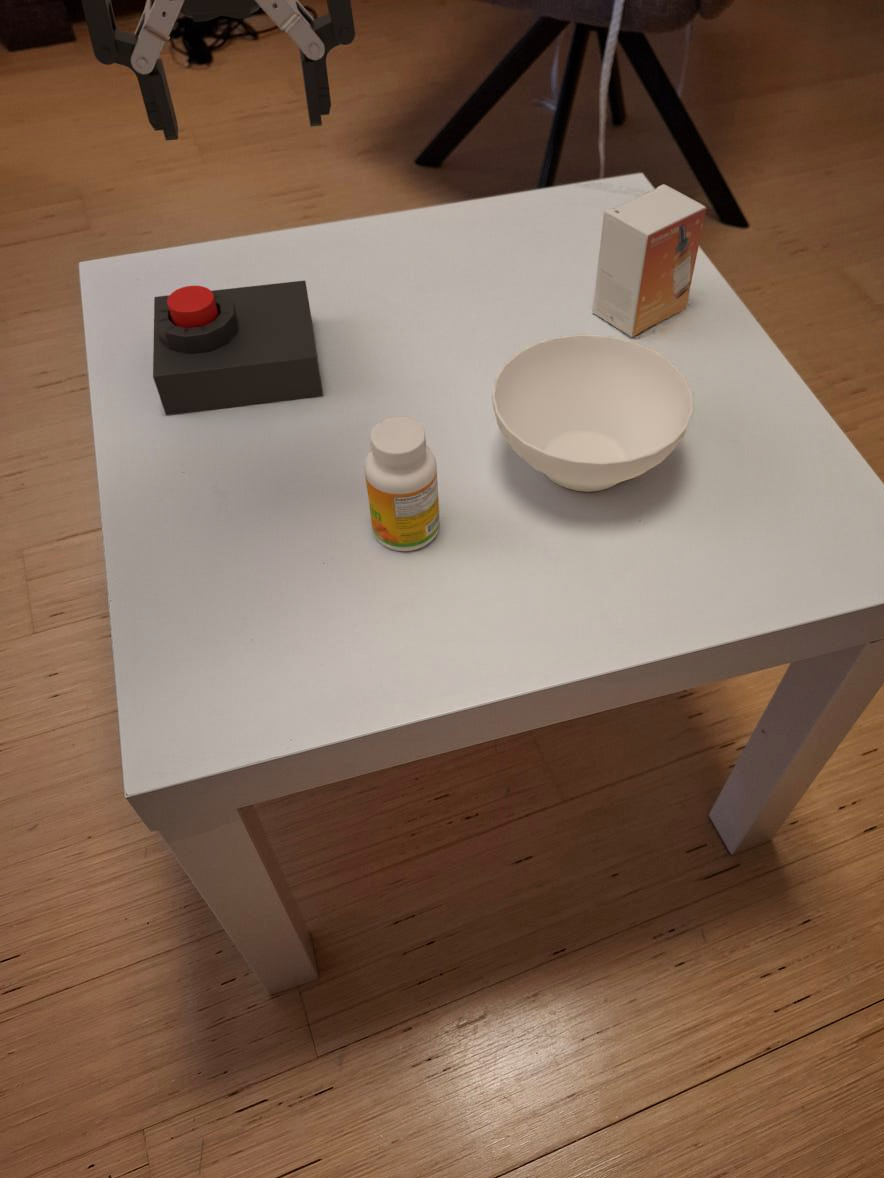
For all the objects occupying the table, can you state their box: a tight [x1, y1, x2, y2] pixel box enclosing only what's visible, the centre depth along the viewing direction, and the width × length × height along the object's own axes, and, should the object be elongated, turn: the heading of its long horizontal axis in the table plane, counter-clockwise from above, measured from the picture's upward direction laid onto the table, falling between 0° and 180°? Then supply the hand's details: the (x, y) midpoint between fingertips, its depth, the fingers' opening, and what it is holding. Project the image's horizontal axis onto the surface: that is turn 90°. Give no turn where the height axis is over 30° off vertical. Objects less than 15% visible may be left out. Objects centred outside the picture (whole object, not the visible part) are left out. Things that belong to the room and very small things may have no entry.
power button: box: [167, 285, 218, 328], centre depth 82 cm, size 4×4×2 cm
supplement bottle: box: [364, 416, 440, 552], centre depth 71 cm, size 5×5×10 cm
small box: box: [592, 183, 707, 338], centre depth 89 cm, size 8×6×10 cm
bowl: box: [491, 333, 695, 493], centre depth 77 cm, size 16×16×7 cm
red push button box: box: [152, 279, 324, 416], centre depth 86 cm, size 14×12×6 cm
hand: (244, 127), depth 57 cm, fingers open, 8 cm apart
